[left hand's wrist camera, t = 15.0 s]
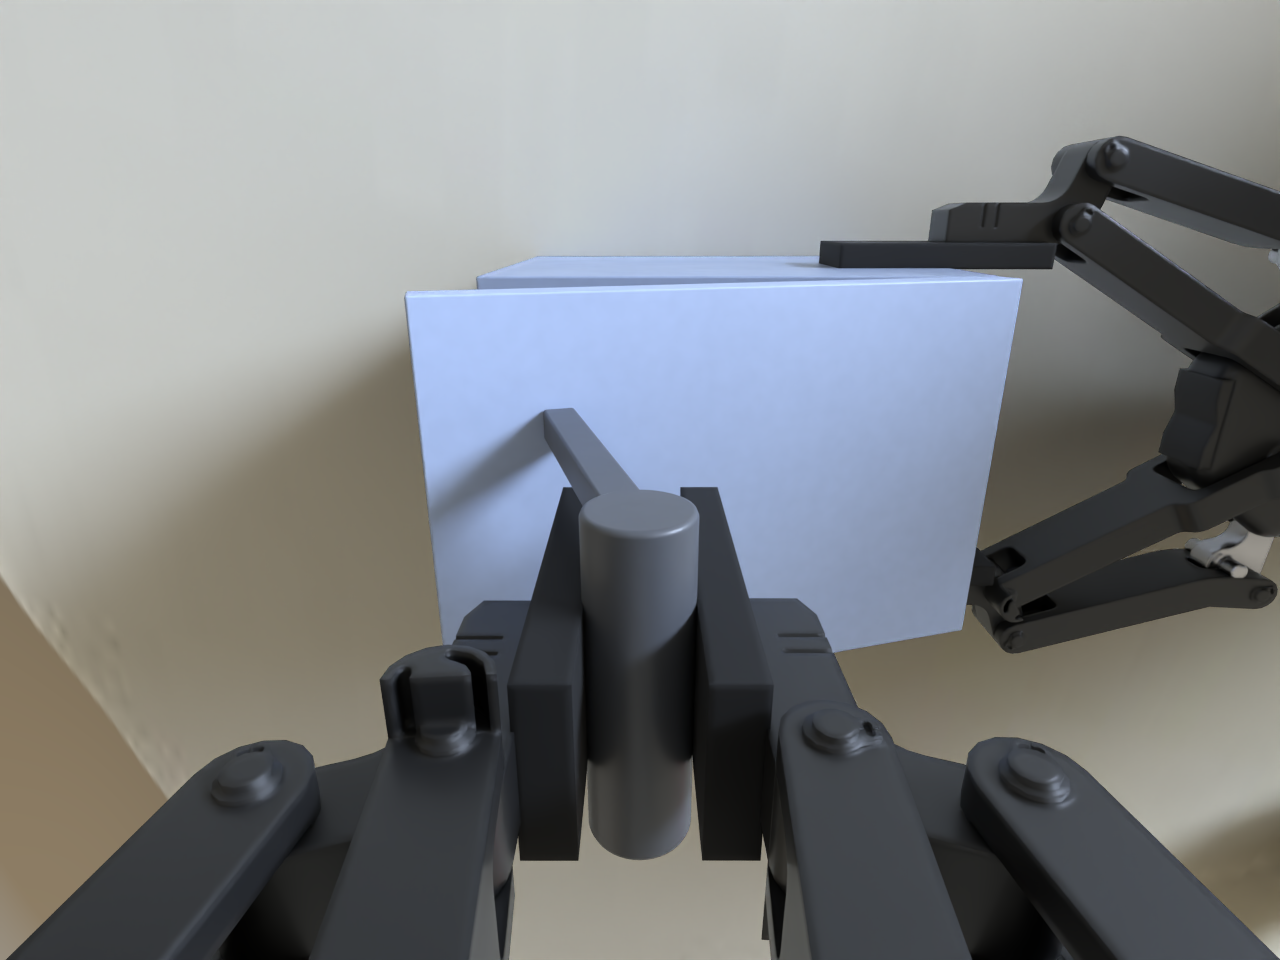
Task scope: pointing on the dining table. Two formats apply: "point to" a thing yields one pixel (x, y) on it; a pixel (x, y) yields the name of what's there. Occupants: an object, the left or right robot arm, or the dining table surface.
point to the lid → (707, 476)
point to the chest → (686, 271)
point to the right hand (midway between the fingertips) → (815, 418)
